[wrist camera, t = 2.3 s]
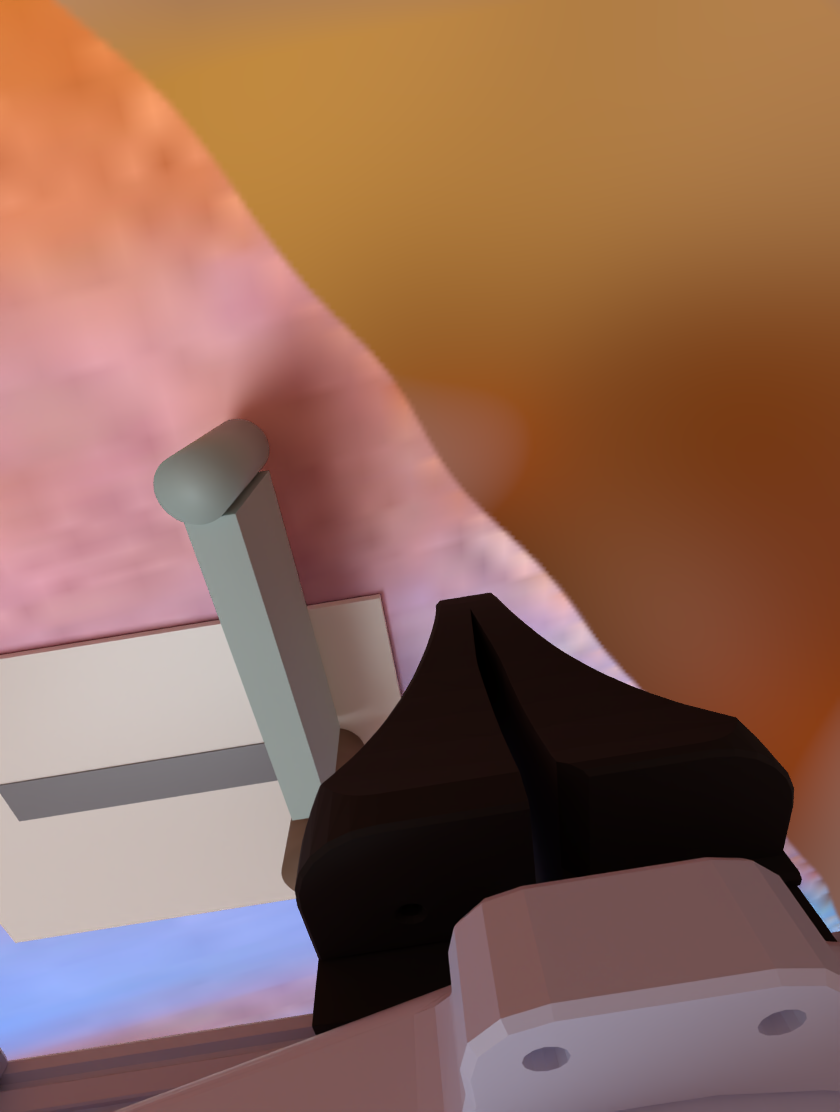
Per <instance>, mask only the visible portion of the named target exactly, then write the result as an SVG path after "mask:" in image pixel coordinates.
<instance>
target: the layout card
mask: <svg viewBox="0 0 840 1112" xmlns="http://www.w3.org/2000/svg"><path fill="white" fill-rule="evenodd" d="M307 609H308V613H309V617H310V620H311V624H312V627H313V631H314V635H315V638H316V642H317V645H318V649H319V653H320V656H321V660H322V663H323V667H324V671H325V674H326V678H327V681H328V685H329V689H330V692H331V696H332V699H333V703H334V707H335V710H336V714H337V717H338V721H339V725H340V728H342V729H346V730H349V731H351V732H353V733H355V734H356V735H357V736H358V737H359V738H360V739H361V740H362V742H363V743H364V745H365V744H366V743H367V741H368V740H369V739H370V738H371V737H372V736H373V735H374V734H375V732H376V731H377V730H378V729H379V728H380V727H381V725H382V724H383V723H384V721H385V720H386V719H387V718H388V716H389V715H390V713H391V712H392V710H393V709H394V708H395V706H396V705H397V703H398V702H399V700H400V699H401V693H400V688H399V683H398V679H397V674H396V669H395V664H394V659H393V654H392V649H391V645H390V640H389V635H388V630H387V625H386V620H385V616H384V611H383V606H382V601H381V596H380V594H377V595H370V596H364V597H358V598H352V599H346V600H339V601H333V602H327V603H321V604H314V605H308V606H307ZM290 822H291V815H290V813H289V810H288V807H287V804H286V802H285V799H284V796H283V793H282V791H281V788H280V785H279V782H278V780H277V777H276V774H275V771H274V769H273V766H272V763H271V760H270V758H269V755H268V752H267V749H266V747H265V744H264V741H263V738H262V736H261V733H260V730H259V727H258V725H257V722H256V719H255V716H254V714H253V711H252V708H251V705H250V703H249V700H248V697H247V694H246V692H245V689H244V686H243V683H242V681H241V678H240V675H239V672H238V670H237V667H236V664H235V661H234V659H233V656H232V653H231V650H230V648H229V645H228V642H227V639H226V637H225V634H224V631H223V628H222V626H221V623H220V620H215V621H209V622H203V623H196V624H190V625H184V626H178V627H171V628H165V629H159V630H153V631H147V632H140V633H134V634H128V635H122V636H116V637H109V638H103V639H97V640H91V641H84V642H78V643H72V644H66V645H60V646H53V647H47V648H41V649H35V650H29V651H22V652H16V653H10V654H4V655H0V924H1V926H2V927H3V928H4V929H5V931H6V932H7V933H8V934H9V936H10V937H11V938H12V939H13V940H14V942H15V943H17V942H24V941H30V940H36V939H43V938H49V937H55V936H62V935H68V934H74V933H81V932H87V931H93V930H100V929H106V928H112V927H119V926H125V925H131V924H138V923H144V922H150V921H157V920H163V919H169V918H176V917H182V916H188V915H195V914H201V913H207V912H214V911H220V910H226V909H233V908H239V907H245V906H252V905H258V904H264V903H271V902H277V901H283V900H290V899H296V895H295V891H293V890H292V889H291V888H289V887H288V886H287V885H286V884H285V882H284V880H283V878H282V874H281V870H282V864H283V859H284V853H285V848H286V843H287V838H288V832H289V827H290Z"/></svg>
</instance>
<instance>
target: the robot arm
mask: <svg viewBox="0 0 840 1112" xmlns="http://www.w3.org/2000/svg"><path fill="white" fill-rule="evenodd" d="M793 799H794V787H793V784H792V782H791V779H790V777H789V775H788V772H787V771H786V770H785V769H784V768H783V767H782V766H781V764H780V763H779V762H778V761H777V760H776V759H775V758H774V757H773V755H772V754H771V753H770V752H769V751H768V749H767V748H766V747H765V746H764V745H763V744H762V743H761V742H760V741H759V739H757V737H756V736H755V735H754V734H753V733H751V732H750V731H749V730H748V729H747V728H746V727H745V726H744V725H743V724H742V723H741V722H740V721H739V720H738V719H737V718H736V717H732V716H728V715H724V714H720V713H716V712H713V711H708V710H705V709H700V708H697V707H693V706H689V705H684V704H682V703H678V702H675V701H672V700H669V699H666V698H663V697H660V696H657V695H654V694H651V693H648V692H646V691H643V690H641V689H638V688H635V687H633V686H630V685H628V684H626V683H623V682H621V681H619V680H616V679H614V678H612V677H610V676H607V675H605V674H603V673H601V672H599V671H597V670H595V669H593V668H591V667H589V666H587V665H586V664H584V663H582V662H580V661H578V660H577V659H575V658H573V657H571V656H569V655H568V654H566V653H565V652H563V651H561V650H560V649H558V648H557V647H555V646H554V645H553V644H551V643H550V642H548V641H547V640H546V639H544V638H543V637H541V636H540V635H539V634H538V633H536V632H535V631H534V630H533V629H531V628H530V627H529V626H528V625H526V624H525V623H524V622H523V621H522V620H520V619H519V618H518V617H517V616H516V615H515V614H514V613H512V612H511V611H510V610H509V609H508V608H507V607H506V606H505V605H504V604H503V603H502V602H501V601H500V600H499V599H498V598H497V597H496V596H494V595H493V594H492V593H485V594H479V595H472V596H466V597H460V598H454V599H447V600H441V601H439V603H438V604H437V605H436V616H435V621H434V625H433V629H432V632H431V635H430V638H429V641H428V644H427V647H426V650H425V652H424V654H423V657H422V659H421V661H420V663H419V666H418V668H417V670H416V672H415V674H414V676H413V678H412V680H411V682H410V684H409V685H408V687H407V689H406V691H405V692H404V694H403V696H402V697H401V699H400V700H399V702H398V703H397V705H396V706H395V708H394V709H393V710H392V712H391V713H390V715H389V716H388V718H387V719H386V720H385V721H384V723H383V724H382V725H381V727H380V728H379V729H378V730H377V731H376V732H375V734H374V735H373V736H372V737H371V738H370V739H369V740H368V741H367V743H366V744H365V745H364V746H363V747H362V748H361V749H360V750H359V751H358V752H357V753H356V754H355V755H354V756H353V757H352V758H351V759H350V760H349V761H348V762H346V763H345V764H344V765H343V766H342V767H341V768H340V769H338V770H337V771H336V772H335V773H334V774H333V775H332V776H330V777H329V778H328V779H327V780H326V781H324V782H323V783H322V784H321V785H320V787H319V789H318V792H317V795H316V797H315V800H314V803H313V806H312V809H311V812H310V815H309V819H308V822H307V825H306V828H305V832H304V836H303V840H302V845H301V850H300V856H299V863H298V870H297V877H296V883H295V895H296V901H297V906H298V909H299V911H300V914H301V916H302V919H303V921H304V924H305V926H306V929H307V931H308V934H309V936H310V939H311V941H312V943H313V946H314V948H315V951H316V953H317V956H318V958H319V961H318V971H317V981H316V990H315V1000H314V1010H313V1014H306V1015H300V1016H293V1017H287V1018H281V1019H274V1020H268V1021H261V1022H255V1023H248V1024H242V1025H236V1026H229V1027H223V1028H216V1029H210V1030H204V1031H197V1032H191V1033H184V1034H178V1035H171V1036H165V1037H159V1038H152V1039H146V1040H139V1041H133V1042H126V1043H120V1044H114V1045H107V1046H101V1047H94V1048H88V1049H82V1050H75V1051H69V1052H62V1053H56V1054H49V1055H43V1056H37V1057H30V1058H24V1059H17V1060H11V1061H8V1060H7V1058H6V1056H5V1054H4V1052H3V1051H2V1049H1V1048H0V1112H840V931H839V932H833V933H831V932H830V930H829V929H828V928H827V926H826V925H825V924H824V922H823V921H822V919H821V918H820V917H819V915H818V914H817V913H816V911H815V910H814V908H813V907H812V906H811V904H810V903H809V901H808V900H807V899H806V897H805V896H804V895H803V893H802V892H801V890H800V889H799V888H798V885H800V884H801V880H802V878H801V876H800V873H799V871H798V869H797V868H796V867H795V865H794V864H793V863H792V861H791V860H790V859H789V857H788V856H787V855H786V853H785V852H784V851H783V848H784V844H785V839H786V835H787V830H788V826H789V822H790V817H791V812H792V808H793Z"/></svg>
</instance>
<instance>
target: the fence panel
mask: <svg viewBox="0 0 840 1112" xmlns="http://www.w3.org/2000/svg"><path fill="white" fill-rule="evenodd" d="M268 456H269V444H268V440H267V438H266V436H265V434H264V433H263V431H262V430H261V429H260V428H259V427H258V426H256V425H255V424H253V423H252V422H250V421H247V420H243V419H232V420H228V421H226V422H224V423H222V424H221V425H219V426H218V427H216V428H214V429H213V430H211V431H210V432H208V433H207V434H205V435H203V436H202V437H200V438H199V439H197V440H196V441H194V442H193V443H191V444H189V445H188V446H186V447H185V448H183V449H182V450H180V451H178V452H177V453H175V454H174V455H172V456H171V457H169V458H167V459H166V460H165V461H163V462H162V463H161V464H160V466H159V467H158V469H157V470H156V473H155V476H154V482H153V483H154V492H155V495H156V498H157V500H158V502H159V503H160V505H161V506H162V508H163V509H164V510H165V511H166V512H167V513H168V514H169V515H171V516H172V517H174V518H175V519H177V520H179V521H181V522H184V524H185V527H186V530H187V532H188V535H189V538H190V541H191V543H192V546H193V549H194V552H195V554H196V557H197V560H198V563H199V565H200V568H201V571H202V574H203V576H204V579H205V582H206V585H207V587H208V590H209V593H210V596H211V598H212V601H213V604H214V606H215V609H216V612H217V615H218V617H219V620H220V623H221V626H222V628H223V631H224V634H225V637H226V639H227V642H228V645H229V648H230V650H231V653H232V656H233V659H234V661H235V664H236V667H237V670H238V672H239V675H240V678H241V681H242V683H243V686H244V689H245V692H246V694H247V697H248V700H249V703H250V705H251V708H252V711H253V714H254V716H255V719H256V722H257V725H258V727H259V730H260V733H261V736H262V738H263V741H264V744H265V747H266V749H267V752H268V755H269V758H270V760H271V763H272V766H273V769H274V771H275V774H276V777H277V780H278V782H279V785H280V788H281V791H282V793H283V796H284V799H285V802H286V804H287V807H288V810H289V813H290V815H291V818H292V821H293V820H299V819H305V818H309V815H310V812H311V809H312V806H313V803H314V800H315V797H316V795H317V792H318V789H319V787H320V785H321V784H322V783H323V782H324V781H326V780H327V779H328V778H329V777H330V776H332V775H333V774H334V773H335V770H336V761H337V752H338V743H339V733H340V725H339V721H338V717H337V714H336V710H335V707H334V703H333V699H332V696H331V692H330V689H329V685H328V681H327V678H326V674H325V671H324V667H323V663H322V660H321V656H320V653H319V649H318V645H317V642H316V638H315V635H314V631H313V627H312V624H311V620H310V617H309V613H308V609H307V606H306V602H305V599H304V595H303V591H302V588H301V584H300V581H299V577H298V573H297V570H296V566H295V563H294V559H293V555H292V552H291V548H290V545H289V541H288V537H287V534H286V530H285V527H284V523H283V519H282V516H281V512H280V509H279V505H278V501H277V498H276V494H275V491H274V487H273V483H272V480H271V476H270V473H269V470H268V471H262V472H259V471H260V469H261V468H262V467H263V466H264V464H265V463H266V461H267V459H268Z"/></svg>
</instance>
